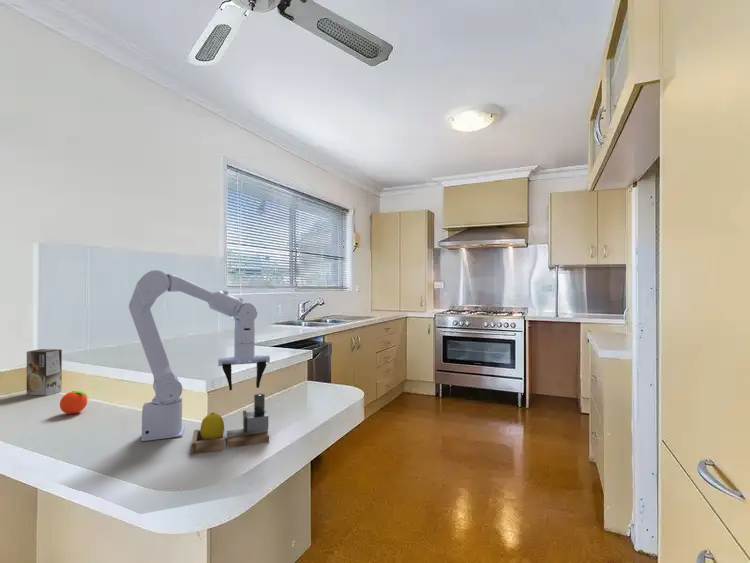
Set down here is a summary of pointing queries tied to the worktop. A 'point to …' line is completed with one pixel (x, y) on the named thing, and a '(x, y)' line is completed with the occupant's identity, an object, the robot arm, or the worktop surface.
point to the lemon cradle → (205, 444)
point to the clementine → (73, 402)
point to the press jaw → (256, 416)
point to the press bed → (246, 437)
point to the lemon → (212, 427)
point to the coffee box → (44, 371)
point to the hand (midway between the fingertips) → (244, 388)
